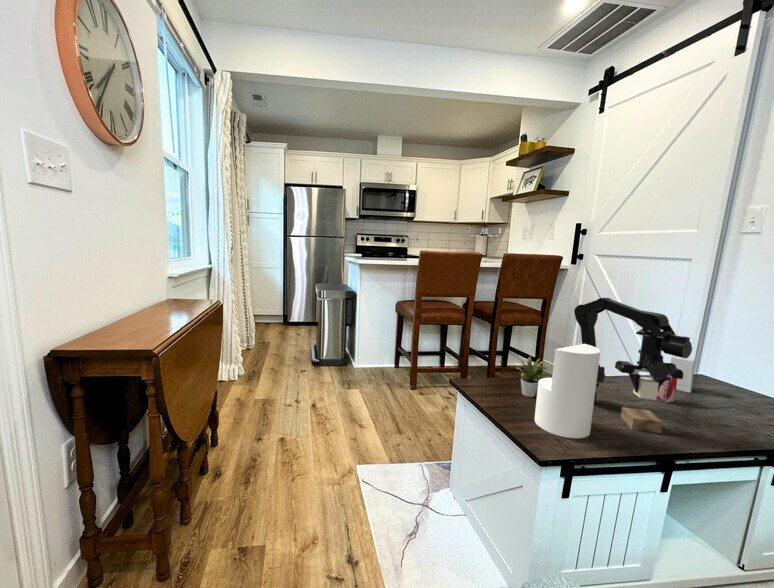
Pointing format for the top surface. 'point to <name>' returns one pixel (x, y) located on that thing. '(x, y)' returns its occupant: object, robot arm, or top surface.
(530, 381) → the house plant
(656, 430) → the tan square slab
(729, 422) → the top surface
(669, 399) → the soda can
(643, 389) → the cream cube
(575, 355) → the white stepped curved block
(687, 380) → the skincare box
